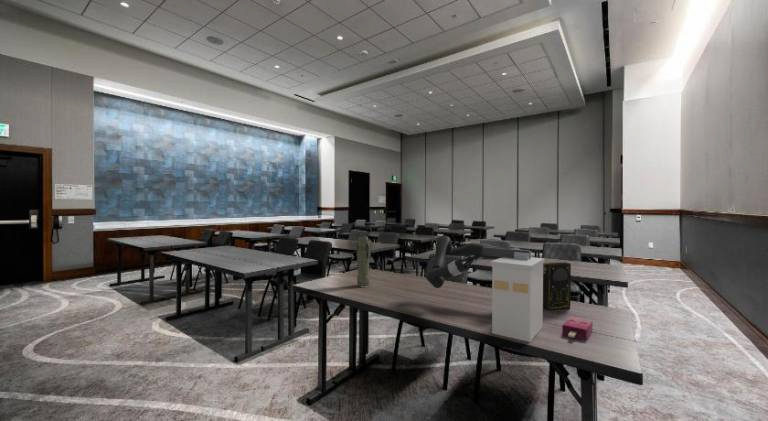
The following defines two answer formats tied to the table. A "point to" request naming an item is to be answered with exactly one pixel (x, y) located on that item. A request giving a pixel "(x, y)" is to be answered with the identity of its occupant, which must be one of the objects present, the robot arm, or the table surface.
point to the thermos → (363, 261)
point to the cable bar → (507, 253)
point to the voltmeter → (556, 285)
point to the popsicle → (577, 328)
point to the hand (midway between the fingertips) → (484, 252)
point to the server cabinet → (517, 297)
